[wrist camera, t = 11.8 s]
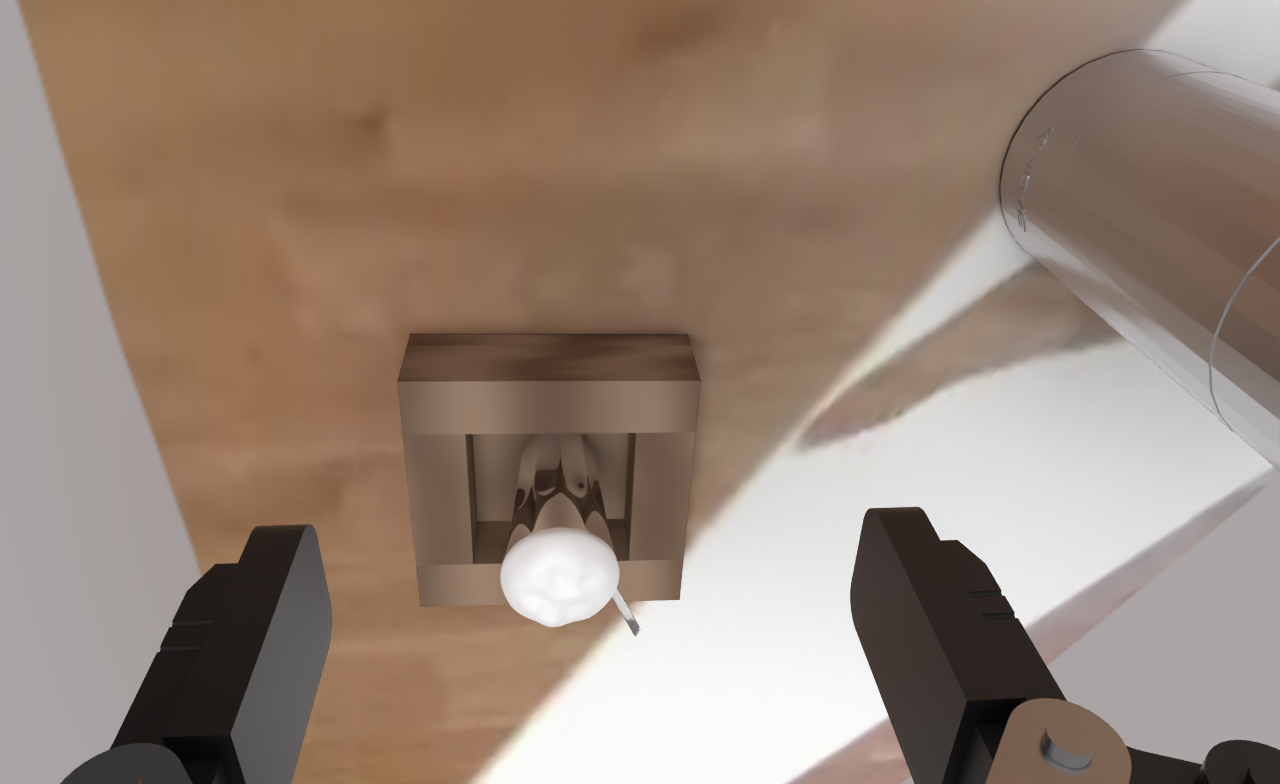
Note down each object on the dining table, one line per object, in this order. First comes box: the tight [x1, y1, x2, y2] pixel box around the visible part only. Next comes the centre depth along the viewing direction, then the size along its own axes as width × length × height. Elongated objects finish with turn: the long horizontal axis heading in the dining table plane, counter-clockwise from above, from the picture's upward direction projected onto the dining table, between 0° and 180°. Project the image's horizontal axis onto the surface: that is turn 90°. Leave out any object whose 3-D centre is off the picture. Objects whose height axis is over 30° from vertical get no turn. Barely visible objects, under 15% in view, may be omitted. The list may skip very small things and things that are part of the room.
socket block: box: [397, 334, 701, 607], centre depth 41 cm, size 12×12×4 cm
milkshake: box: [500, 433, 640, 636], centre depth 38 cm, size 4×5×10 cm
